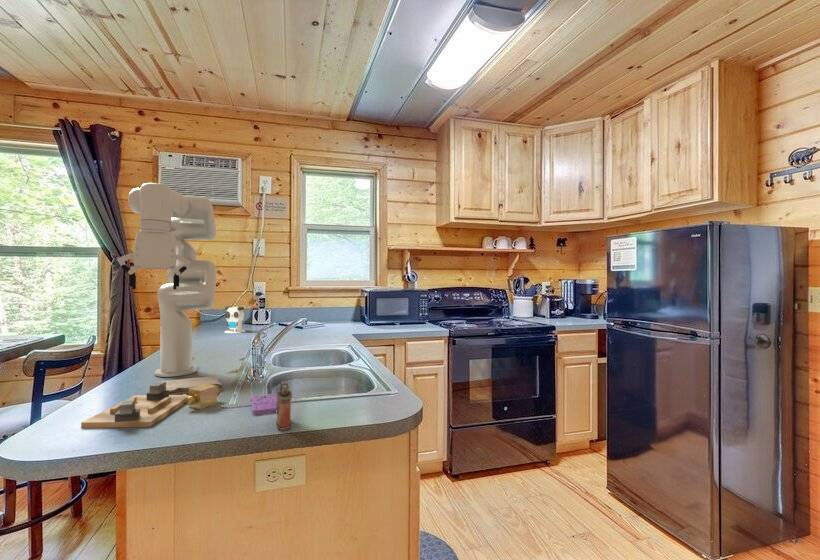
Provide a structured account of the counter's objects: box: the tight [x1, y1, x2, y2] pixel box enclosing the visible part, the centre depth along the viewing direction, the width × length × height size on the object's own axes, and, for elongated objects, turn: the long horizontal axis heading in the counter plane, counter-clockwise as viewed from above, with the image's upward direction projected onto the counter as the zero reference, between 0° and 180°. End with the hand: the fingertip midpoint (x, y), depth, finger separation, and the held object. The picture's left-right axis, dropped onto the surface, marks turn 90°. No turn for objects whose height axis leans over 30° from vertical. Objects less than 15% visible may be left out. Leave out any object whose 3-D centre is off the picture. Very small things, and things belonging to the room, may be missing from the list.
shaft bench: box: [80, 381, 189, 429], centre depth 100 cm, size 20×15×5 cm
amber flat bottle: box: [275, 381, 293, 433], centre depth 93 cm, size 8×3×10 cm, turn 21°
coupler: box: [185, 384, 221, 410], centre depth 106 cm, size 9×4×5 cm, turn 155°
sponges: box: [250, 392, 277, 416], centre depth 106 cm, size 7×13×2 cm, turn 24°
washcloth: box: [159, 375, 224, 395], centre depth 120 cm, size 12×18×3 cm, turn 124°
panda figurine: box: [224, 305, 246, 334], centre depth 234 cm, size 12×11×15 cm
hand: (154, 289), depth 111 cm, fingers open, 9 cm apart
